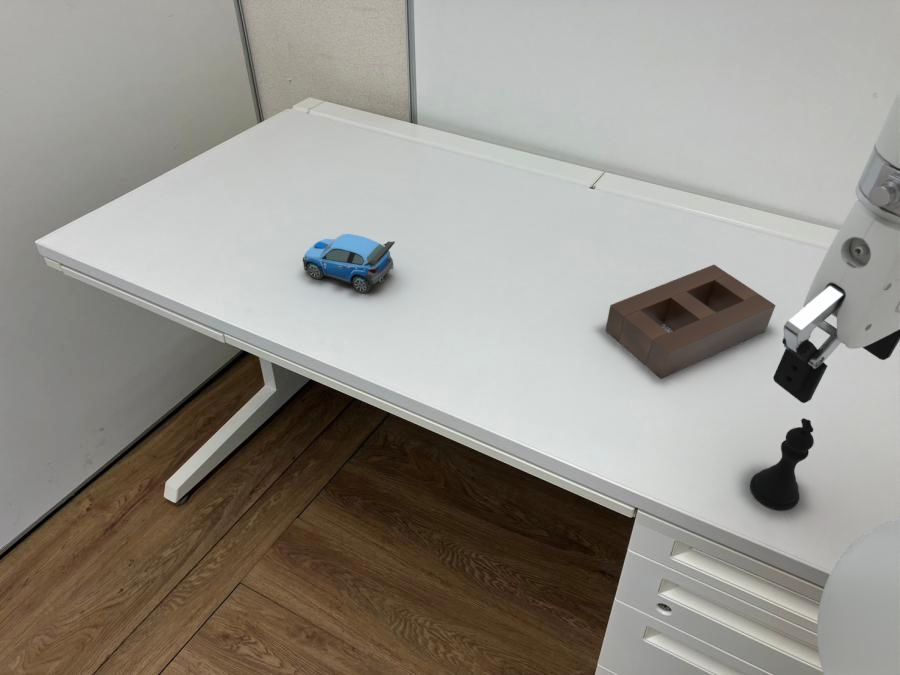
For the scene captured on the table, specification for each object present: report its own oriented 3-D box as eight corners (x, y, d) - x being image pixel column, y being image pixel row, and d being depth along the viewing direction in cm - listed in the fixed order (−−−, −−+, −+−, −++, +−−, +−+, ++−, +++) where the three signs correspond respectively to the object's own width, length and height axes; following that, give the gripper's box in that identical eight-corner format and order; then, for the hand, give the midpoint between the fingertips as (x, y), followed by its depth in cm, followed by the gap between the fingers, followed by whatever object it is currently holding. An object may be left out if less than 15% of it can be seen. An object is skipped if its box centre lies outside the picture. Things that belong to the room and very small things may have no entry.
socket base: (765, 330, 86) (775, 305, 83) (661, 379, 79) (668, 352, 77) (706, 289, 92) (714, 264, 90) (605, 330, 86) (610, 304, 83)
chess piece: (784, 471, 69) (819, 400, 63) (807, 508, 66) (846, 437, 60) (741, 475, 69) (773, 404, 62) (762, 512, 66) (797, 442, 59)
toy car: (322, 253, 98) (317, 218, 94) (398, 274, 94) (397, 238, 91) (299, 276, 94) (293, 239, 90) (378, 298, 90) (375, 261, 87)
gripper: (895, 248, 41) (796, 440, 52) (1056, 175, 47) (938, 360, 58) (789, 191, 45) (720, 378, 57) (949, 132, 52) (859, 311, 63)
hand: (831, 369), depth 58 cm, fingers open, 9 cm apart
